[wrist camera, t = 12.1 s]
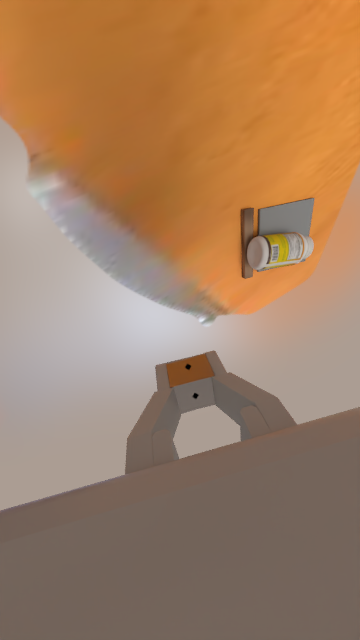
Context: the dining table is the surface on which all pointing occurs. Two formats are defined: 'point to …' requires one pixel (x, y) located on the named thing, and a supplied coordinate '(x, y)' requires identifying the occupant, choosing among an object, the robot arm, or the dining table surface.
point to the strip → (246, 240)
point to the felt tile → (286, 219)
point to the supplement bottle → (278, 250)
